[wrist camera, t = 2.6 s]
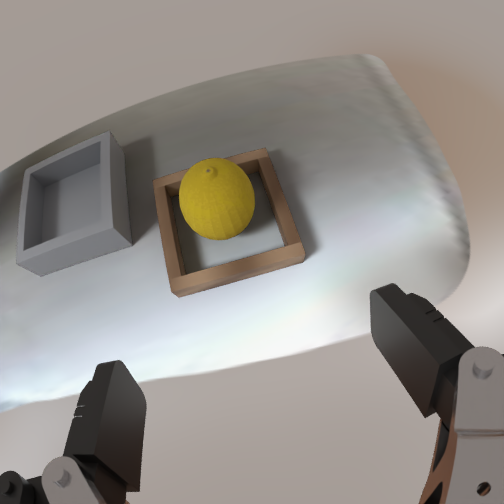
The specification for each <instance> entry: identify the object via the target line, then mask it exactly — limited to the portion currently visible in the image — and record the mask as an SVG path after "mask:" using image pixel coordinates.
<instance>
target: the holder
mask: <svg viewBox="0 0 504 504" xmlns="http://www.w3.org/2000/svg"><path fill="white" fill-rule="evenodd" d="M130 246H133V245H132V237H131V228H130V219H129V209H128V198H127V186H126V172H125V154H124V152H123V151H122V149H121V147H120V146H119V144H118V143H117V141H116V139H115V138H114V136H113V135H112V133H111V131H110V130H109V131H107V132H104V133H102V134H100V135H97V136H95V137H92V138H90V139H88V140H85V141H83V142H81V143H79V144H76V145H74V146H72V147H70V148H68V149H66V150H63V151H61V152H59V153H57V154H55V155H53V156H51V157H49V158H47V159H45V160H43V161H41V162H39V163H37V164H35V165H33V166H31V167H30V168H28V169H26V170H25V173H24V179H23V186H22V193H21V201H20V210H19V220H18V233H17V251H16V264H17V265H19V266H21V267H23V268H25V269H27V270H29V271H31V272H33V273H35V274H37V275H39V276H43V275H46V274H49V273H52V272H55V271H58V270H61V269H64V268H66V267H69V266H72V265H75V264H78V263H81V262H84V261H87V260H90V259H93V258H96V257H99V256H102V255H105V254H108V253H111V252H115V251H118V250H121V249H124V248H127V247H130Z"/></svg>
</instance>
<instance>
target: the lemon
mask: <svg viewBox="0 0 504 504" xmlns="http://www.w3.org/2000/svg"><path fill="white" fill-rule="evenodd" d="M179 201H180V208H181V211H182V214H183V216H184V219H185V220H186V222H187V223H188V224H189V226H190V227H191V228H192V229H193V230H194V231H195V232H197V233H198V234H199V235H201V236H203V237H205V238H208V239H212V240H226V239H229V238H232V237H235V236H236V235H238V234H239V233H241V232H242V231H243V230H244V229H245V228H246V227H247V226H248V224H249V222H250V220H251V218H252V216H253V212H254V208H255V194H254V190H253V187H252V185H251V182H250V180H249V178H248V176H247V175H246V174H245V172H244V171H243V170H242V169H241V168H240V167H239V166H238V165H236V164H235V163H234V162H231V161H229V160H226V159H222V158H209V159H205V160H202V161H200V162H198V163H196V164H195V165H193V166H192V167H191V168H190V169H189V170H188V171H187V173H186V174H185V175H184V177H183V179H182V181H181V185H180V190H179Z"/></svg>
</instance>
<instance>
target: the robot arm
mask: <svg viewBox="0 0 504 504" xmlns="http://www.w3.org/2000/svg"><path fill="white" fill-rule="evenodd" d="M370 315H371V333H372V337H373V340H374V342H375V344H376V346H377V348H378V349H379V350H380V352H381V353H382V355H383V356H384V358H385V359H386V361H387V362H388V364H389V365H390V366H391V368H392V369H393V371H394V372H395V374H396V375H397V377H398V378H399V380H400V381H401V383H402V384H403V386H404V387H405V389H406V390H407V392H408V393H409V395H410V396H411V397H412V399H413V401H414V402H415V404H416V405H417V407H418V408H419V410H420V411H421V413H422V414H423V416H424V418H426V417H428V416H430V415H432V414H433V413H435V412H437V414H438V415H439V417H440V418H441V419H440V422H439V427H438V433H437V439H436V444H435V449H434V454H433V459H432V463H431V468H430V472H429V476H428V479H427V482H426V484H425V487H424V489H423V492H422V495H421V498H420V501H419V504H504V354H500V353H499V352H498V351H496V350H494V349H492V348H488V347H476V348H475V347H474V346H473V345H472V344H471V343H470V342H469V341H468V340H467V339H466V338H465V337H464V336H463V335H462V334H461V333H460V332H459V331H458V330H457V329H456V328H455V327H454V326H453V325H452V324H451V323H450V322H449V321H448V320H447V319H446V318H444V316H443V315H442V314H441V313H440V312H439V311H438V310H437V311H436V308H435V307H434V306H433V305H432V304H431V303H430V302H429V301H428V300H427V299H425V298H423V297H420V296H418V295H416V294H414V293H410V294H407V295H406V294H405V293H404V292H403V291H402V290H401V289H400V288H399V287H398V286H397V285H396V284H394V283H391V284H389V285H386V286H383V287H380V288H378V289H375V290H372V291H371V293H370ZM145 416H146V400H145V397H144V394H143V392H142V390H141V389H140V387H139V386H138V384H137V383H136V381H135V380H134V378H133V377H132V375H131V374H130V372H129V371H128V369H127V368H126V366H125V365H124V363H123V362H122V361H120V360H116V361H111V362H106V363H101V364H98V365H97V367H96V370H95V373H94V376H93V379H92V381H89V382H88V383H87V385H86V386H85V388H84V389H83V390H82V392H81V394H80V397H79V400H78V403H77V408H76V410H75V413H74V419H73V420H72V424H71V427H70V431H69V434H68V438H67V442H66V446H65V450H64V454H63V457H58V458H55V459H53V460H52V461H51V462H49V463H48V465H47V466H46V467H45V469H44V471H43V474H42V476H39V477H35V478H31V479H27V480H25V479H24V478H23V477H21V476H20V475H19V474H18V473H16V472H14V471H7V472H4V473H3V474H2V475H1V476H0V504H130V503H129V502H128V501H127V500H126V492H139V491H140V476H141V462H142V449H143V437H144V427H145Z"/></svg>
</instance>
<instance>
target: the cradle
mask: <svg viewBox="0 0 504 504" xmlns="http://www.w3.org/2000/svg"><path fill="white" fill-rule="evenodd" d="M224 159H226V160H229V161H231V162H234V163H235V164H236V165H238V166H239V167H240V168H241V169H242V170H243V171H244V172H245V174H246V175H248V174H252V173H256V172H259V174H260V177H261V179H262V182H263V185H264V188H265V191H266V193H267V196H268V199H269V202H270V205H271V208H272V210H273V213H274V216H275V219H276V222H277V225H278V228H279V231H280V233H281V236H282V239H283V242H284V245H285V247H282V248H278V249H275V250H271V251H268V252H264V253H261V254H257V255H254V256H250V257H247V258H243V259H240V260H236V261H233V262H229V263H226V264H222V265H219V266H215V267H211V268H208V269H204V270H201V271H197V272H194V273H190V274H187V275H186V272H185V268H184V263H183V258H182V253H181V248H180V243H179V238H178V233H177V228H176V223H175V218H174V212H173V207H172V201H171V197H172V196H175V195H178V194H179V190H180V185H181V181H182V179H183V177H184V175H185V174H186V173H187V171H188V170H189V169H190V168H189V169H186V170H182V171H179V172H176V173H173V174H170V175H167V176H163V177H160V178H157V179H154V180H153V187H154V195H155V201H156V208H157V215H158V221H159V227H160V233H161V239H162V245H163V251H164V256H165V262H166V267H167V272H168V278H169V283H170V288H171V292H172V293H173V294H175V295H176V296H177V297H183V296H186V295H190V294H194V293H197V292H201V291H205V290H208V289H212V288H215V287H219V286H222V285H226V284H230V283H233V282H237V281H240V280H244V279H247V278H251V277H254V276H258V275H261V274H265V273H268V272H272V271H275V270H278V269H282V268H285V267H289V266H292V265H295V264H299V263H302V262H303V261H304V258H305V251H304V248H303V245H302V242H301V240H300V237H299V234H298V231H297V229H296V226H295V223H294V221H293V218H292V215H291V212H290V210H289V207H288V204H287V202H286V199H285V196H284V194H283V191H282V189H281V186H280V183H279V181H278V178H277V176H276V173H275V171H274V168H273V165H272V163H271V160H270V158H269V155H268V153H267V150H266V148H262V149H258V150H254V151H250V152H246V153H242V154H239V155H235V156H231V157H227V158H224Z"/></svg>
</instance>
